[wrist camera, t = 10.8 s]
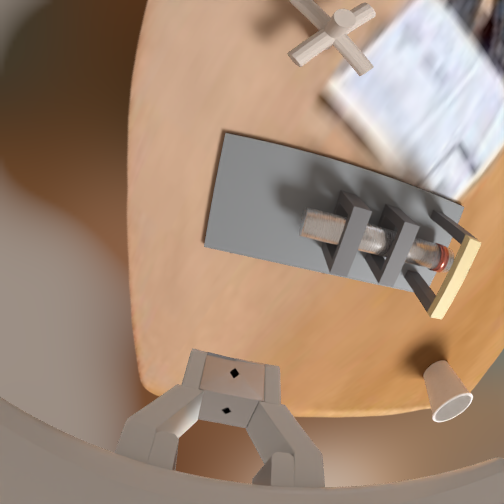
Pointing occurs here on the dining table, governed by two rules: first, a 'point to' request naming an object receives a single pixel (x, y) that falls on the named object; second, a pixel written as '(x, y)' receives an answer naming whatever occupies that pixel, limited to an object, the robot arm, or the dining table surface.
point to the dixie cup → (445, 391)
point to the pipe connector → (332, 34)
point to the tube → (374, 240)
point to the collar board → (336, 202)
